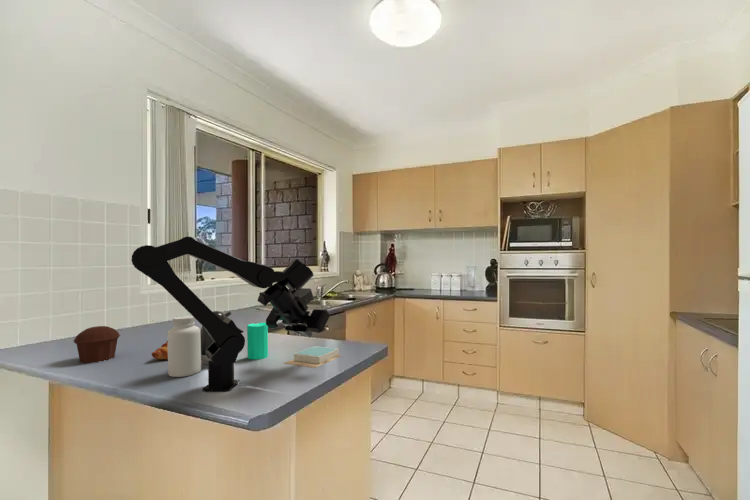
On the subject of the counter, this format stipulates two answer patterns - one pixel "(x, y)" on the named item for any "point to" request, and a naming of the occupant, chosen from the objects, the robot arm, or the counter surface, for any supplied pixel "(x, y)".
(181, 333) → the pill bottle
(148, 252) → the robot arm
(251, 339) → the candle
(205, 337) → the pump dispenser
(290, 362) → the mat
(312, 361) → the tile
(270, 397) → the counter surface
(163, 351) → the croissant
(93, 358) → the muffin
